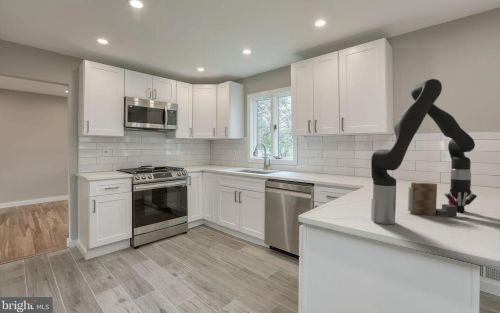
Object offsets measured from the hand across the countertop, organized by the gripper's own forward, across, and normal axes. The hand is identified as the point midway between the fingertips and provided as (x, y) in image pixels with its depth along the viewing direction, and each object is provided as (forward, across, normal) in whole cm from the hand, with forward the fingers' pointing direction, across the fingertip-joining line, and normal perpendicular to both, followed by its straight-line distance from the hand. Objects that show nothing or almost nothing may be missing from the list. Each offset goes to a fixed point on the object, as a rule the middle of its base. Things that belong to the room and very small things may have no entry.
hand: (459, 212), depth 119 cm
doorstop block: (+2, +6, 0) cm, 7 cm away
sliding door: (+1, +17, 0) cm, 17 cm away
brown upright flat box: (+1, +16, 0) cm, 16 cm away
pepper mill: (+2, -4, -11) cm, 12 cm away
